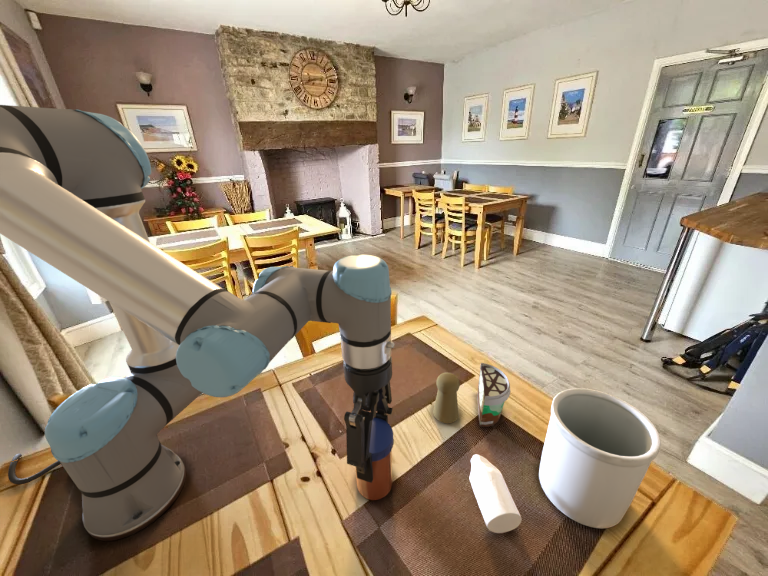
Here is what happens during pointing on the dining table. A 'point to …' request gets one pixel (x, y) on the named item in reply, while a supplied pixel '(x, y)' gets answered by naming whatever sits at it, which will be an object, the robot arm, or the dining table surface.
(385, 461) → the jar
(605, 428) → the utensil holder
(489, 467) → the white dropper bottle
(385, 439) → the lid
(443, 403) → the olive brown pawn
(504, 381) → the food container
